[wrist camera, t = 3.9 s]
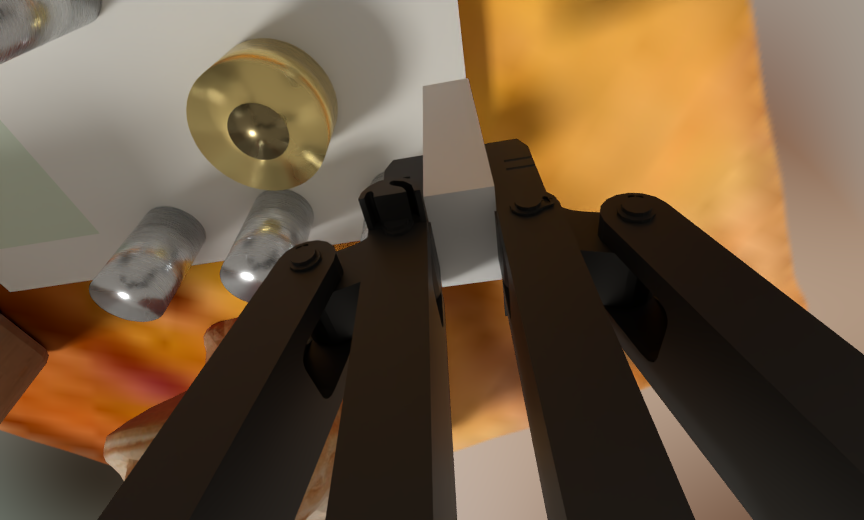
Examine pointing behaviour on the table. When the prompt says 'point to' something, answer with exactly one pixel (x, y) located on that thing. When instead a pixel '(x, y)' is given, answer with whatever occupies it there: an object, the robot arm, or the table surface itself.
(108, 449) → the ceramic vessel
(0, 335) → the wooden block
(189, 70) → the board
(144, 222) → the spacers
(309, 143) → the brass round knob
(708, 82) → the table surface
